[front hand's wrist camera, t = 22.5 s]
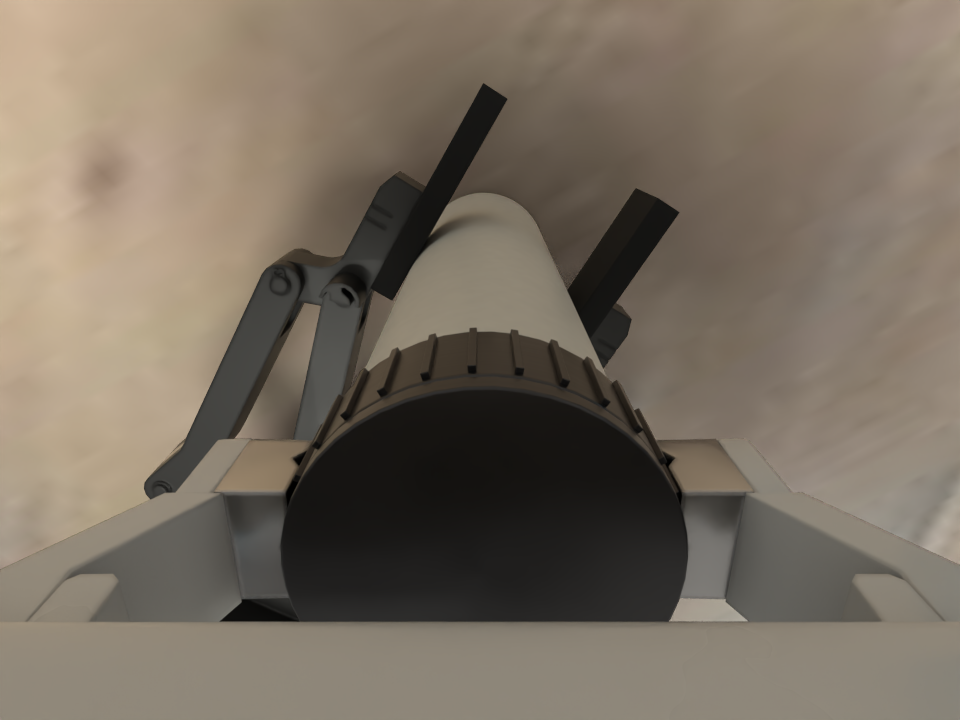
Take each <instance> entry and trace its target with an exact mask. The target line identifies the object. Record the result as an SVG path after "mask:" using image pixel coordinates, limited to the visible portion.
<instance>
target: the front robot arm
mask: <svg viewBox="0 0 960 720" xmlns="http://www.w3.org/2000/svg"><path fill="white" fill-rule="evenodd" d="M312 441H313V440H275V439H254V440H253V439H251V438H247V439H222V440H218V441H217V442H216V443H215V444H214V445H213V447H212V448H211V449H210V450H209V452H208V453H207V454H206V455H205V457H204V458H203V459H202V460H201V462H200V463H199V464H198V465H197V467H196V468H195V469H194V470H193V471H192V473H191V474H190V475H189V476H188V478H187V479H186V480H185V481H184V483H183V484H182V485H181V486H180V488H179V489H178V490H177V491H176V493H164V494H162V495H159V496H157V497H155V498H153V499H151V500H149V501H146V502H144V503H142V504H140V505H138V506H136V507H134V508H131V509H129V510H127V511H125V512H123V513H121V514H119V515H116V516H114V517H112V518H110V519H108V520H106V521H103V522H101V523H99V524H97V525H95V526H93V527H91V528H88V529H86V530H84V531H82V532H80V533H78V534H76V535H73V536H71V537H69V538H67V539H65V540H63V541H60V542H58V543H56V544H54V545H52V546H50V547H48V548H45V549H43V550H41V551H39V552H37V553H35V554H32V555H30V556H28V557H26V558H24V559H22V560H20V561H17V562H15V563H13V564H11V565H9V566H7V567H5V568H2V569H0V720H960V565H959V564H956V563H954V562H952V561H950V560H948V559H946V558H943V557H941V556H939V555H937V554H935V553H933V552H930V551H928V550H926V549H924V548H922V547H919V546H917V545H915V544H913V543H911V542H909V541H906V540H904V539H902V538H900V537H898V536H896V535H893V534H891V533H889V532H887V531H885V530H883V529H880V528H878V527H876V526H874V525H872V524H870V523H867V522H865V521H863V520H861V519H859V518H857V517H854V516H852V515H850V514H848V513H846V512H844V511H841V510H839V509H837V508H835V507H833V506H831V505H828V504H826V503H824V502H822V501H820V500H818V499H815V498H813V497H811V496H809V495H807V494H805V493H793V492H792V491H791V490H790V489H789V488H788V486H787V485H786V484H785V483H784V482H783V480H782V479H781V478H780V477H779V476H778V474H777V473H776V472H775V471H774V470H773V468H772V467H771V466H770V465H769V464H768V462H767V461H766V460H765V459H764V457H763V456H762V455H761V454H760V453H759V451H758V450H757V449H756V448H755V447H754V445H753V444H752V443H751V442H750V441H749V440H746V439H744V438H738V439H693V440H656V442H657V443H658V445H659V447H660V449H661V451H662V453H663V455H664V457H665V459H666V461H667V463H665V465H666V467H667V469H668V471H669V473H670V475H671V477H672V478H673V480H674V482H675V484H676V486H677V488H678V490H679V493H680V494H679V498H678V500H679V503H680V506H681V508H682V511H683V515H684V519H685V524H686V529H687V534H688V563H687V571H686V579H685V582H684V586H683V589H682V592H681V596H680V598H699V599H726V602H727V603H728V604H729V605H730V606H731V607H733V608H734V609H735V610H736V611H737V612H738V613H740V614H741V615H742V616H743V617H744V618H745V619H747V620H748V621H749V622H219V621H220V620H221V619H223V618H224V617H225V616H226V615H227V614H228V613H230V612H231V611H232V610H233V609H234V608H235V607H237V606H238V605H239V604H240V603H241V602H242V601H241V599H268V598H289V596H288V593H287V590H286V587H285V584H284V578H283V572H282V567H281V535H282V529H283V522H284V518H285V514H286V511H287V508H288V505H289V502H290V499H291V497H292V495H293V493H294V490H295V488H296V486H297V484H298V482H296V481H294V480H293V479H294V476H295V474H296V472H297V470H298V468H299V466H300V464H301V462H302V460H303V458H304V456H305V454H306V452H307V450H308V449H309V447H310V445H311V443H312Z"/></svg>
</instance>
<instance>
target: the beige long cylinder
mask: <svg viewBox="0 0 960 720" xmlns="http://www.w3.org/2000/svg"><path fill="white" fill-rule="evenodd" d="M469 328H477V332H502V333H510V332H511V329H513V330H518V332H519V335H523V336H527V337H531V338H536V339H540V340H542V341H545V342H548V343H549V342H550V340H551V339H553V340H556V341H558V344H559V347H561V348H563V349H565V350H567V351H569V352H571V353H573V354H575V355H577V356H579V357H580V358H582V359H585V358H586V357H587V356H588V357H589V358H591V359H592V360H593V362H594V365H595V367H596V369H598V370H599V371H600V372H601V373H603V374H604V375H605V376H606V374H605V372H604V370H603V368H602V365H601V363H600V361H599V359H598V357H597V354H596V352H595V350H594V348H593V346H592V344H591V341H590V339H589V337H588V335H587V333H586V331H585V328H584V326H583V324H582V322H581V320H580V317H579V315H578V313H577V311H576V309H575V307H574V304H573V302H572V300H571V298H570V296H569V293H568V291H567V289H566V287H565V285H564V283H563V280H562V278H561V276H560V274H559V272H558V270H557V267H556V265H555V263H554V261H553V259H552V256H551V254H550V252H549V250H548V248H547V246H546V243H545V241H544V239H543V237H542V235H541V232H540V230H539V228H538V226H537V224H536V222H535V221H534V219H533V218H532V216H531V215H530V214H529V213H528V212H527V211H526V210H525V209H524V208H523V207H522V206H521V205H519V204H518V203H517V202H515V201H513V200H511V199H509V198H507V197H505V196H502V195H498V194H493V193H474V194H469V195H466V196H463V197H460V198H458V199H456V200H454V201H452V202H451V203H449V204H448V205H447V206H446V208H445V209H444V211H443V213H442V215H441V216H440V218H439V220H438V222H437V223H436V225H435V227H434V229H433V230H432V232H431V234H430V236H429V237H428V239H427V241H426V243H425V244H424V246H423V248H422V250H421V251H420V253H419V255H418V257H417V258H416V260H415V262H414V264H413V265H412V267H411V269H410V271H409V273H408V275H407V277H406V279H405V282H404V284H403V286H402V288H401V290H400V293H399V295H398V297H397V299H396V301H395V304H394V306H393V308H392V310H391V312H390V315H389V317H388V319H387V321H386V323H385V326H384V328H383V330H382V332H381V334H380V337H379V339H378V341H377V343H376V346H375V348H374V350H373V352H372V354H371V357H370V359H369V361H368V363H367V365H366V369H367V370H368V371H369V370H371V369H372V368H373V367H374V366H376V365H377V364H378V363H379V362H381V361H383V360H385V359H386V358H388V357H389V356H390V353H391V350H393V349H395V348H396V347H398V348H399V350H403V349H405V348H407V347H410V346H412V345H415V344H417V343H419V342H422V341H426V340H428V337H429V335H431V334H434V333H436V335H437V337H440V336H444V335H451V334H458V333H464V332H469ZM606 377H607V376H606Z"/></svg>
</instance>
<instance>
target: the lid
mask: <svg viewBox="0 0 960 720" xmlns="http://www.w3.org/2000/svg"><path fill="white" fill-rule="evenodd" d="M665 463H667V461H666V459H665V457H664V455H663V453H662V451H661V449H660V447H659V445H658V443H657V442H656V440H655V438H654V436H653V434H652V432H651V430H650V428H649V426H648V424H647V422H646V421H645V419H644V417H643V415H642V413H641V411H640V409H639V408H638V409H636V410H634V409H633V407H632V405H631V404H630V402H629V400H628V398H627V396H626V394H625V392H624V390H623V388H622V386H621V384H620V383H619V382H618V381H617V380H616V381H614V382H613V383H612V382H611V381H610V380H609V379H608V378H607V377H606V376H605V375H604V374H603V373H601V372H600V371H599V370H598V369H596V367H595V365H594V362H593V360H592V359H591V358H589V357H588V356H587V357H586V358H585V359H582V358H580V357H579V356H577V355H575V354H573V353H571V352H569V351H567V350H565V349H563V348H561V347H559V344H558V341H556V340H553V339H551V340H550V342H549V343H548V342H545V341H542V340H540V339H536V338H531V337H527V336H523V335H519V332H518V330H513V329H511V332H510V333H502V332H477V328H469V332H464V333H458V334H451V335H444V336H440V337H437V335H436V333H434V334H431V335H429V337H428V340H426V341H422V342H419V343H417V344H415V345H412V346H410V347H407V348H405V349H403V350H399V348H398V347H396V348H395V349H393V350H391V353H390V356H389V357H388V358H386V359H385V360H383V361H381V362H379V363H378V364H377V365H376V366H374V367H373V368H372V369H371V370H369V371H368V370H367V369H366V368H364V369H363V370H361V371H360V373H359V375H358V377H357V379H356V381H355V384H354V385H353V386H352V387H351V388H350V389H349V390H348V391H347V392H346V394H345V395H344V397H343V396H341V395H340V394H338V396H337V397H336V398H335V400H334V402H333V404H332V406H331V408H330V410H329V412H328V414H327V416H326V418H325V420H324V422H323V424H321V425H320V427H319V429H318V431H317V433H316V435H315V437H314V439H313V441H312V443H311V445H310V447H309V449H308V450H307V452H306V454H305V456H304V458H303V460H302V462H301V464H300V466H299V468H298V470H297V472H296V474H295V476H294V479H293V480H294V481H296V482H298V484H297V486H296V488H295V490H294V493H293V495H292V497H291V499H290V502H289V505H288V508H287V511H286V514H285V518H284V522H283V529H282V535H281V567H282V572H283V578H284V584H285V587H286V590H287V593H288V596H289V599H290V602H291V605H292V607H293V609H294V611H295V613H296V615H297V617H298V619H299V621H300V622H669V620H670V619H671V617H672V615H673V612H674V610H675V608H676V606H677V604H678V602H679V599H680V596H681V592H682V589H683V586H684V582H685V579H686V571H687V563H688V534H687V529H686V524H685V519H684V515H683V511H682V508H681V506H680V503H679V500H678V498H679V494H680V493H679V490H678V488H677V486H676V484H675V482H674V480H673V478H672V477H671V475H670V473H669V471H668V469H667V467H666V465H665Z"/></svg>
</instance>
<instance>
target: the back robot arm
mask: <svg viewBox="0 0 960 720" xmlns="http://www.w3.org/2000/svg"><path fill="white" fill-rule="evenodd" d="M506 101H507V98H505V97H504V96H502V95H501V94H499V93H498V92H496V91H494V90H493V89H491V88H490V87H488V86H487V85H485V84H484V83H483V85H482V87H481V89H480V90H479V92H478V94H477V96H476V98H475V99H474V101H473V103H472V105H471V107H470V108H469V110H468V112H467V114H466V116H465V117H464V119H463V121H462V123H461V125H460V126H459V128H458V130H457V132H456V134H455V135H454V137H453V139H452V141H451V143H450V145H449V146H448V148H447V150H446V152H445V154H444V155H443V157H442V159H441V161H440V163H439V164H438V166H437V168H436V170H435V172H434V173H433V175H432V177H431V179H430V181H429V182H428V184H427V186H426V187H425V186H423V185H422V184H420V183H419V182H417V181H415V180H414V179H412V178H410V177H409V176H407V175H405V174H404V173H402V172H401V171H399V172H398V173H397V174H395V175H394V176H393V177H391V178H390V179H389V180H388V181H386V182H385V183H384V184H383V185H382V186H380V188H379V190H378V192H377V193H376V195H375V197H374V199H373V201H372V203H371V205H370V207H369V209H368V211H367V212H366V214H365V216H364V218H363V220H362V222H361V224H360V226H359V228H358V229H357V231H356V233H355V235H354V237H353V239H352V241H351V243H350V245H349V247H348V248H347V250H346V252H345V254H344V255H342V256H340V257H335V258H331V257H324V256H319V255H314V254H312V253H311V252H310V251H308V250H305V249H294V250H292V251H290V252H289V253H287V254H286V255H285V256H283V257H282V258H280V259H279V260H278V261H276V262H275V263H273V264H272V265H271V266H269V267H268V268H266V270H265V271H264V272H263V274H262V275H261V277H260V280H259V282H258V284H257V286H256V288H255V290H254V292H253V295H252V297H251V299H250V301H249V303H248V305H247V308H246V310H245V312H244V314H243V316H242V318H241V321H240V323H239V325H238V327H237V329H236V331H235V334H234V336H233V338H232V340H231V342H230V344H229V347H228V349H227V351H226V353H225V355H224V357H223V360H222V362H221V364H220V366H219V368H218V370H217V372H216V375H215V377H214V379H213V381H212V383H211V385H210V388H209V390H208V392H207V394H206V396H205V398H204V401H203V403H202V405H201V407H200V409H199V411H198V414H197V416H196V418H195V420H194V422H193V424H192V427H191V429H190V431H189V433H188V435H187V437H186V439H184V440H183V441H182V442H181V443H180V444H179V445H178V446H177V447H176V448H175V449H174V450H173V451H172V452H171V454H170V455H169V456H168V457H167V458H166V459H165V460H164V461H163V462H162V463H161V465H160V466H159V467H158V468H157V469H156V470H155V471H154V472H153V473H152V474H151V475H150V477H149V478H148V479H147V480H146V482H145V485H144V490H145V493H146V495H147V496H148V497H149V498H150V499H153V498H155V497H157V496H159V495H162V494H164V493H176V491H177V490H178V489H179V488H180V486H181V485H182V484H183V483H184V481H185V480H186V479H187V478H188V476H189V475H190V474H191V473H192V471H193V470H194V469H195V468H196V467H197V465H198V464H199V463H200V462H201V460H202V459H203V458H204V457H205V455H206V454H207V453H208V452H209V450H210V449H211V448H212V447H213V445H214V444H215V443H216V442H217V441H218V440H222V439H234V438H235V437H236V436H237V434H238V433H239V432H240V430H241V428H242V427H243V425H244V423H245V421H246V419H247V417H248V415H249V413H250V411H251V409H252V407H253V405H254V403H255V401H256V399H257V397H258V395H259V393H260V391H261V389H262V387H263V385H264V383H265V381H266V379H267V377H268V375H269V373H270V371H271V369H272V367H273V365H274V363H275V361H276V359H277V357H278V355H279V353H280V351H281V349H282V347H283V345H284V343H285V341H286V339H287V337H288V335H289V333H290V331H291V329H292V327H293V325H294V323H295V321H296V319H297V317H298V315H299V313H300V311H301V309H302V307H303V304H304V303H310V304H315V305H320V306H321V309H320V314H319V319H318V323H317V328H316V333H315V338H314V343H313V347H312V352H311V357H310V362H309V366H308V371H307V376H306V381H305V386H304V390H303V395H302V400H301V405H300V409H299V414H298V419H297V424H296V428H295V433H294V438H293V440H313V439H314V437H315V435H316V433H317V431H318V429H319V427H320V425H321V424H323V422H324V420H325V418H326V416H327V414H328V412H329V410H330V408H331V406H332V404H333V402H334V400H335V398H336V397H337V396H338V394H340V395H341V396H343V397H344V395H345V394H346V392H347V391H348V390H349V389H350V388H351V383H352V379H353V375H354V371H355V367H356V362H357V358H358V354H359V350H360V346H361V341H362V337H363V333H364V329H365V325H366V321H367V316H368V312H369V308H370V304H371V300H372V295H373V291H376V292H378V293H380V294H381V295H383V296H385V297H387V298H389V299H390V300H393V299H394V297H395V295H396V293H397V292H398V290H399V288H400V286H401V285H402V283H403V281H404V279H405V278H406V276H407V274H408V272H409V271H410V269H411V267H412V265H413V264H414V262H415V260H416V258H417V257H418V255H419V253H420V251H421V250H422V248H423V246H424V244H425V243H426V241H427V239H428V237H429V236H430V234H431V232H432V230H433V229H434V227H435V225H436V223H437V222H438V220H439V218H440V216H441V215H442V213H443V211H444V209H445V208H446V206H447V204H448V202H449V201H450V199H451V197H452V195H453V194H454V192H455V190H456V188H457V187H458V185H459V183H460V181H461V180H462V178H463V176H464V174H465V173H466V171H467V169H468V167H469V166H470V164H471V162H472V160H473V159H474V157H475V155H476V153H477V152H478V150H479V148H480V146H481V145H482V143H483V141H484V139H485V138H486V136H487V134H488V132H489V131H490V129H491V127H492V125H493V124H494V122H495V120H496V118H497V117H498V115H499V113H500V111H501V110H502V108H503V106H504V104H505V103H506ZM678 214H679V212H678V211H677V210H675V209H673V208H672V207H670V206H669V205H667V204H666V203H664V202H663V201H661V200H660V199H658V198H656V197H654V196H652V195H650V194H647V193H645V192H643V191H641V190H638V189H635V190H634V192H633V193H632V195H631V196H630V198H629V199H628V201H627V202H626V204H625V205H624V207H623V208H622V210H621V211H620V213H619V214H618V216H617V217H616V219H615V220H614V222H613V223H612V225H611V226H610V228H609V229H608V230H607V232H606V233H605V235H604V236H603V238H602V239H601V241H600V242H599V244H598V245H597V247H596V248H595V250H594V251H593V253H592V254H591V256H590V257H589V259H588V260H587V262H586V263H585V265H584V266H583V268H582V269H581V271H580V272H579V274H578V275H577V277H576V278H575V280H574V281H573V283H572V284H571V286H570V287H569V289H568V290H567V291H568V293H569V296H570V298H571V300H572V302H573V304H574V307H575V309H576V311H577V313H578V315H579V317H580V320H581V322H582V324H583V326H584V328H585V331H586V333H587V335H588V337H589V339H590V341H591V344H592V346H593V348H594V350H595V352H596V354H597V357H598V359H599V361H600V363H601V365H602V368H604V367H605V366H606V364H607V363H608V361H609V359H611V357H612V356H613V354H614V353H615V352H616V349H618V348H619V346H620V345H621V343H622V342H623V341H624V339H625V338H626V337H627V335H628V331H629V327H630V323H631V320H632V319H631V318H630V317H629V315H628V314H627V313H626V312H625V310H624V309H623V308H622V307H621V306H620V305H618V304H617V303H616V302H617V300H618V299H619V297H620V296H621V295H622V293H623V292H624V290H625V289H626V287H627V286H628V285H629V283H630V282H631V280H632V279H633V278H634V276H635V275H636V273H637V272H638V270H639V269H640V268H641V266H642V265H643V263H644V262H645V261H646V259H647V258H648V256H649V255H650V253H651V252H652V251H653V249H654V248H655V246H656V245H657V244H658V242H659V241H660V239H661V238H662V236H663V235H664V234H665V232H666V231H667V229H668V228H669V227H670V225H671V224H672V222H673V221H674V219H675V218H676V217H677V215H678ZM241 601H242V602H241V603H240V604H239V605H238V606H237V607H235V608H234V609H233V610H232V611H231V612H230V613H228V614H227V615H226V616H225V617H224V618H223V619H221V620H220V621H219V622H300V621H299V619H298V617H297V615H296V613H295V611H294V609H293V607H292V605H291V602H290V599H289V598H268V599H241Z"/></svg>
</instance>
